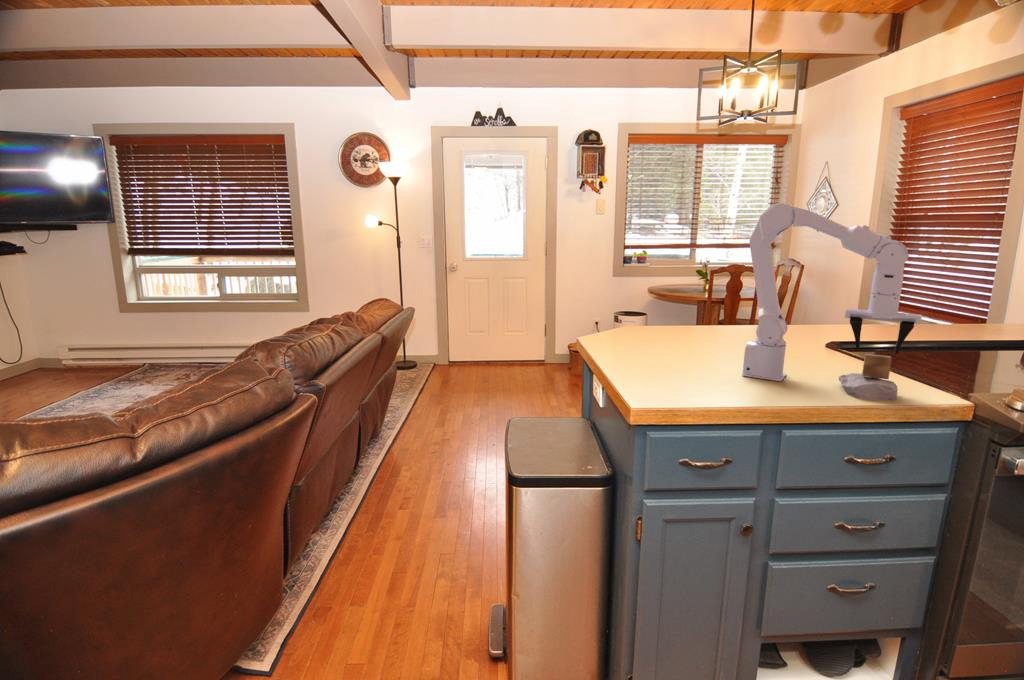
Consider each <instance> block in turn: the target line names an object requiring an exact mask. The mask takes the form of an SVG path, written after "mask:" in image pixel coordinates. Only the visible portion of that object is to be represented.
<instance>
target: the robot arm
mask: <svg viewBox="0 0 1024 680" xmlns="http://www.w3.org/2000/svg"><path fill="white" fill-rule="evenodd" d="M791 226H792V227H795V228H796V227H809V228H810V229H813V230H815V231H818V232H821V233H822V234H826V235H828V236H830V237H833V238H836V239H838V240H840V242H841V243H840V244H841V246H842V248H843V249H846V250H848V251H850V252H853V253H854V254H857V255H859V256H862V257H864V258H867V259H868V260H870V259H871V260H872V259H875V260H876V261H877V262H876V265H875V271H874V273H873V275H872V276H873V277H872V281H871V287H870V296H869V300H868V301H869V302H868V309H852V308H846V310H845V313H844V314H845V315H844V318H845V319H849V324H850V326H851V329H852V332H853V336H854V340H855V341H854V342H855V350H860V346H861V333H862V327H863V321H864V320H872V321H882V322H893V323H899V328H898V336H897V339H896V340H897V341H896V344H895V347H894V354H895V355H899V353H900V350H901V347H902V345H903V343H904V342H905V340H906V338H907V337H908V336H909V334H911V332H912V330H913V329H914V327H915V325H921V323H922V321H921V320H922V314H916V313H915V314H913V313H905V312H899V306H900V302H901V301H900V300H901V295H902V289H903V282H904V276H905V275H904V271H905V263H906V262H907V261H908V259H909V256H910V255H909V251H908V248H907V247H906V245H905V244H904V243H901V242H900V241H898V240H897V239H891V238H892V236H891V235H888V234H886V235H883V234H880V233H878V232H875V231H874V230H871V229H870V226H868V225H866V224H863V226H861V225H860V224H859V225H858V224H856V225H853V226H850V227H847V226H845V225H842V224H840V223H838V222H836V221H834V220H831V219H829V218H828V217H825V216H823V215H822V214H821V215H820V214H818V213H816V212H814V211H812V210H809V209H806V208H805V209H804V208H800V207H796V206H791V205H789V204H786V203H779V202H778V203H774V204H772V205H770V206H769V207H768V208H767V209H766V210H765V211H763V213H762V214H761V215H760V216H759V218H758V221H757V223H756V226H755V228H754V230H753V232H752V233H751V235H750V237H749V248H750V254H751V255H750V256H751V262H752V270H753V277H754V284H755V291H756V298H757V307H758V312H757V313H758V314H757V315H758V316H757V319H758V323H757V327H756V330H755V332H756V333H755V335H756V337H757V338H755V340H754V341H751V340H748V341H746V345H745V347H744V355H743V356H744V357H743V367H742V373H741V375H742V377H751V378H754V379H755V378H756V379H763V380H769V381H776V382H782V381H783V379H785V377H786V375H787V373H786V372H784V365H785V356H786V347H787V342H786V340H784V336H785V335H786V333H787V331H788V323H787V321H786V320H785V318H784V317H783V314H782V309H781V306H780V303H779V296H778V288H777V280H776V279H777V278H776V274H775V266H774V265H775V264H774V257H773V251H772V244H773V242H774V241H776V239H777V238H778V236H779V235H780V234H781V233H783V232H784V231H786V230H788V229H789V228H790V227H791Z"/></svg>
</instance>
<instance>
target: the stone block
mask: <svg viewBox="0 0 1024 680" xmlns="http://www.w3.org/2000/svg"><path fill="white" fill-rule="evenodd" d="M838 381H839V382H840V384H841V386H842V387H843V389H844V391H845V392H846V394H847V395H849V396H852V397H854V398H857V399H865V400H886V401H896V400H897V396H898V385H897V384H896V383H895V381H892V380H890V379H882V378H874V377H867V376H863V375H862V373H861V372H860V373H859V372H858V373H857V372H856V373H853V372H852V373H851V372H850V373H846V374H842V375H840V376H838Z"/></svg>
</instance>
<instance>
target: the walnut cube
mask: <svg viewBox="0 0 1024 680" xmlns="http://www.w3.org/2000/svg"><path fill="white" fill-rule="evenodd" d="M892 360H893V358H892V356H890V355H881V354H875V353H874V354H872V353H864V359H863V366H862V375H863V376H867V377H874V378H882V379H883V380H890V379H889V378H890V372H891V365H892Z"/></svg>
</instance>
